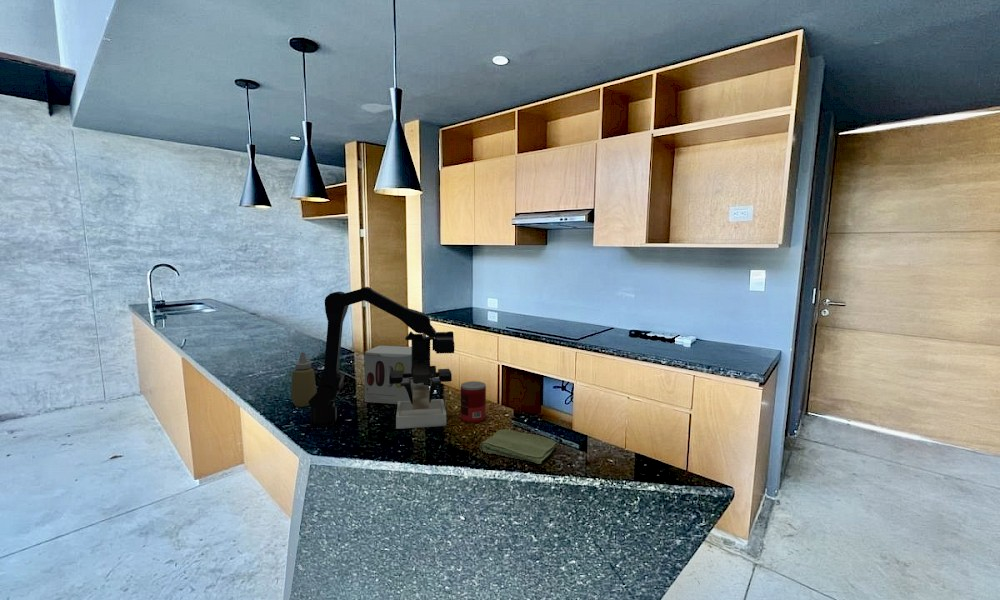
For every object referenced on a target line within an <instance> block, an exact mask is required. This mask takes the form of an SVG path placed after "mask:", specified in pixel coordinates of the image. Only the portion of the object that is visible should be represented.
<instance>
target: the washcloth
mask: <svg viewBox="0 0 1000 600" xmlns="http://www.w3.org/2000/svg"><path fill="white" fill-rule="evenodd" d="M556 447H558V442H557V441H555V439H551V438H548V437H545V436H542V435H536V434H531V433H530V434H529V433H525V432H519V431H516V430H512V429H506V428H503V429H499V430H497V431H496V432H495V433H494V434H492V436H491V437H488V438H486V439H485V440H483V441H482V442H481V443H480V445H479V451H481V452H482V451H483V452H482V453H484V452H485V454H487V453H488V455H491V454H496V455H501V456H505V457H511V458H515V459H520V460H526V461H530V462H534V463H537V464H542V463H543V462H544V460H545V459H546V458H548V457H549V456H550V455H551V454H552V452H553V451H554V449H555V448H556ZM515 459H514V460H515ZM542 461H543V462H542Z"/></svg>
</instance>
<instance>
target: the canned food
mask: <svg viewBox="0 0 1000 600" xmlns="http://www.w3.org/2000/svg"><path fill="white" fill-rule="evenodd" d="M486 397H487V386H486V383H485V382H482V381H477V380H476V381H473V380H472V381H465V382H463V383H461V385H460V419H461V421H463V422H464V423H468V424H477V423H481V422H482V421H484V420H485V419H486V418H485V417H486V409H487V408H486V406H487V405H486V404H487V403H486V401H487V400H486V399H487V398H486Z"/></svg>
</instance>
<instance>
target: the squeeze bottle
mask: <svg viewBox="0 0 1000 600" xmlns="http://www.w3.org/2000/svg"><path fill="white" fill-rule="evenodd" d="M291 376H292V377H291V386H290V397H291V400H292V403H293V405H294V407H297V408H303V407H310V405H309V402H308V401H309V400H310V399H311V398H312V397H313V396H314V395H315V394H316V392H317V385H316V378H315V377H316V376H315V370H314V369H313V368H312V365H311V362H310V361H308V360H307V356H306V353H305V352H304V351H303V352H302V351H301V352H300V356H299V360H298V362H296V363H295V369H294V370H293V371H292V375H291Z"/></svg>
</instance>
